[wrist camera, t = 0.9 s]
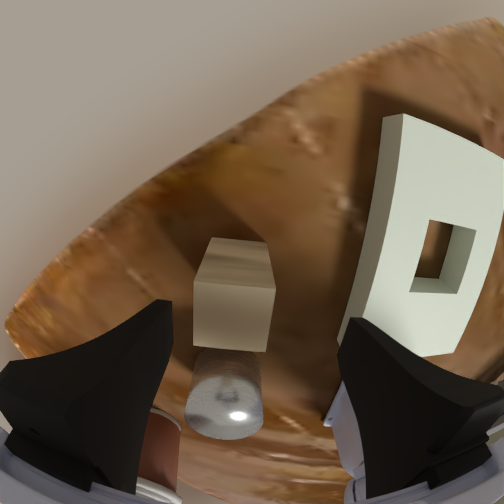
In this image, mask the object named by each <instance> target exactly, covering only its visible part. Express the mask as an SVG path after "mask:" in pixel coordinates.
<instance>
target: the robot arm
mask: <svg viewBox="0 0 504 504" xmlns="http://www.w3.org/2000/svg"><path fill="white" fill-rule="evenodd" d="M172 345H173V324H172V301H167V300H160V299H157V300H155V301H154V302H152V303H151V304H149V305H148V306H147V307H145V308H144V309H142V310H141V311H140V312H138V313H137V314H135V315H134V316H132V317H131V318H129V319H128V320H126V321H125V322H123V323H122V324H120V325H118V326H117V327H115V328H113V329H112V330H110V331H109V332H107V333H105V334H103V335H101V336H99V337H97V338H95V339H93V340H91V341H89V342H86V343H84V344H81V345H79V346H76V347H73V348H70V349H68V350H65V351H62V352H58V353H54V354H51V355H46V356H42V357H37V358H31V359H24V360H15V361H10V362H9V363H8V364H7V365H6V367H5V368H4V369H3V370H2V371H1V372H0V411H1V412H2V413H3V415H4V417H5V418H6V420H7V421H8V422H9V423H10V425H11V426H12V428H13V430H12V431H11V433H10V434H8V433H7V432H6V431H5V430H4V429H3V428H2V427H0V502H1V503H2V504H172V503H166V502H162V501H157V500H152V499H148V498H144V497H140V496H136V485H137V476H138V469H139V462H140V456H141V450H142V445H143V440H144V435H145V430H146V426H147V421H148V417H149V413H150V410H151V406H152V403H153V401H154V398H155V396H156V393H157V390H158V388H159V385H160V383H161V380H162V378H163V375H164V372H165V370H166V367H167V365H168V362H169V358H170V354H171V349H172ZM337 358H338V363H339V368H340V373H341V376H342V379H343V380H342V383H341V385H340V387H339V390H338V392H337V394H336V396H335V398H334V401H333V403H332V405H331V407H330V409H329V411H328V413H327V415H326V417H325V419H324V421H323V425H324V426H332V429H333V433H334V437H335V441H336V445H337V449H338V453H339V457H340V461H341V464H342V466H343V468H344V469H345V471H346V472H347V473H348V474H350V475H351V476H353V477H354V478H355V479H352V480H350V481H349V482H348V484H347V487H346V489H345V493H344V503H345V504H493V503H495V502H496V501H497V500H499V499H500V498H501V497H502V496H504V437H503V438H501V439H499V440H498V441H496V442H494V443H493V444H492V445H490V446H489V447H488V446H487V445H486V443H485V442H487V441H488V440H489V436H488V435H487V433H486V432H487V431H488V430H489V429H490V428H491V427H492V426H493V424H494V423H495V422H496V421H497V420H498V418H499V417H500V416H501V415H502V413H503V412H504V390H503V389H502V388H501V387H500V386H499V385H493V384H488V383H483V382H479V381H475V380H472V379H468V378H465V377H462V376H459V375H457V374H454V373H452V372H449V371H447V370H445V369H442V368H440V367H438V366H436V365H434V364H432V363H430V362H429V361H427V360H425V359H423V358H421V357H420V356H418V355H416V354H415V353H413V352H412V351H410V350H409V349H407V348H406V347H404V346H403V345H401V344H400V343H399V342H397V341H396V340H394V339H393V338H392V337H390V336H389V335H388V334H386V333H385V332H384V331H382V330H381V329H380V328H378V327H377V326H375V325H374V324H373V323H371V322H370V321H368V320H366V319H365V318H363V317H350V319H349V322H348V325H347V328H346V331H345V334H344V337H343V339H342V342H341V345H340V348H339V351H338V353H337Z"/></svg>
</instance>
